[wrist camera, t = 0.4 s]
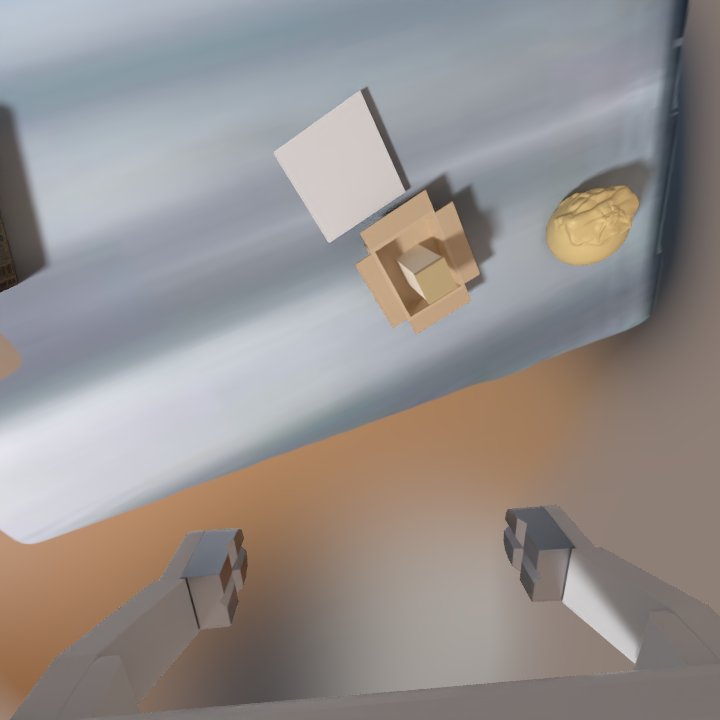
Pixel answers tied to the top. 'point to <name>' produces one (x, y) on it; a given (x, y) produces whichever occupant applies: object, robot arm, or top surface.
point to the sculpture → (591, 224)
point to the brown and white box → (426, 273)
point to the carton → (398, 236)
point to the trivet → (341, 168)
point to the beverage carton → (6, 263)
